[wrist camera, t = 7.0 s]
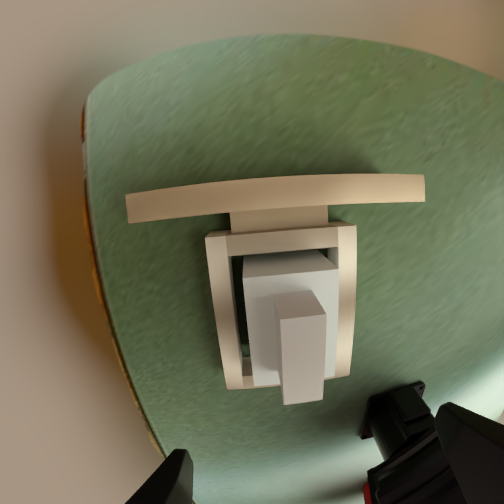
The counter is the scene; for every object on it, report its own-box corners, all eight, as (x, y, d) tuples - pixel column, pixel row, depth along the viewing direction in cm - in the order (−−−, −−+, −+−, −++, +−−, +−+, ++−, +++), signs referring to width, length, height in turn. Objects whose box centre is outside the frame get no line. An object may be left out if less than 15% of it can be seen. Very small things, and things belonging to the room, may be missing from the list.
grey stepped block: (317, 338, 21) (348, 407, 13) (252, 345, 21) (255, 420, 13) (316, 249, 19) (360, 288, 11) (243, 255, 19) (241, 300, 11)
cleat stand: (378, 350, 21) (403, 384, 16) (186, 371, 21) (173, 412, 16) (384, 176, 18) (423, 174, 13) (155, 193, 18) (125, 194, 13)
